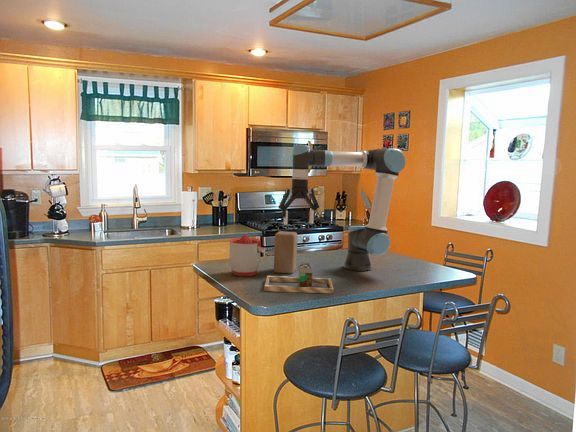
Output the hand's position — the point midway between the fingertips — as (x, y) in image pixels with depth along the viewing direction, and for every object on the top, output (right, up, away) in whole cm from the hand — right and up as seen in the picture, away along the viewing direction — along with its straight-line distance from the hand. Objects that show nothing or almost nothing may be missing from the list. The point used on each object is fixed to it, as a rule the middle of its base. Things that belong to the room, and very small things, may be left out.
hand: (298, 223), depth 211 cm
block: (-7, -25, +20) cm, 33 cm away
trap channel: (0, -28, -8) cm, 29 cm away
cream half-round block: (+2, -29, -8) cm, 30 cm away
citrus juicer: (-26, -25, +11) cm, 38 cm away
